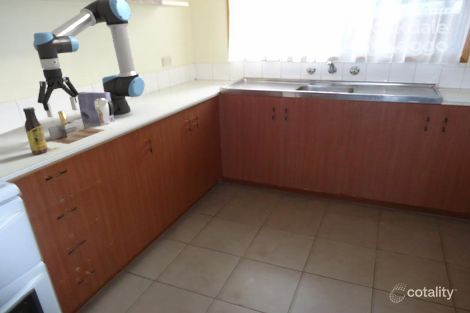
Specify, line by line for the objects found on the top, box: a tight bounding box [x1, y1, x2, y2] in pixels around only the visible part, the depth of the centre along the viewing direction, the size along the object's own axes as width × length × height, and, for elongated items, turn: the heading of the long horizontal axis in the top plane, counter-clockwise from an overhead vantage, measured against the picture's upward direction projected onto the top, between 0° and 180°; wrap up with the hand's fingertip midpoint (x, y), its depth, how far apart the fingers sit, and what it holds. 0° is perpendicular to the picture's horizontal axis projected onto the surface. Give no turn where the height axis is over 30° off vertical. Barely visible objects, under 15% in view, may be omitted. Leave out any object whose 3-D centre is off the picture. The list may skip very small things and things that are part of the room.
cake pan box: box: [76, 91, 115, 124], centre depth 181 cm, size 19×5×18 cm, turn 77°
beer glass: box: [94, 98, 112, 126], centre depth 174 cm, size 7×7×15 cm
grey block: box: [55, 118, 85, 138], centre depth 161 cm, size 12×6×6 cm, turn 155°
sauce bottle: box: [22, 106, 49, 155], centre depth 139 cm, size 7×6×20 cm
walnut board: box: [45, 127, 105, 145], centre depth 160 cm, size 22×16×2 cm
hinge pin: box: [57, 110, 68, 125], centre depth 157 cm, size 3×3×12 cm
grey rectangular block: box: [47, 125, 77, 140], centre depth 156 cm, size 12×6×6 cm, turn 155°
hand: (63, 113), depth 156 cm, fingers open, 13 cm apart
